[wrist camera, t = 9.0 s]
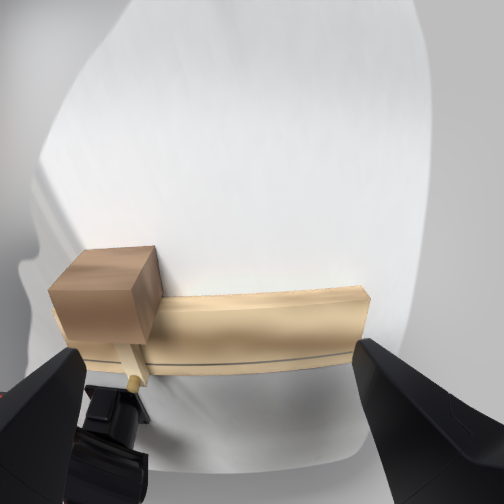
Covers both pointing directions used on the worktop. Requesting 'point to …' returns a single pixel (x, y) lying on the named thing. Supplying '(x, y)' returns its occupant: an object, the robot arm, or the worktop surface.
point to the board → (244, 333)
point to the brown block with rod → (111, 303)
